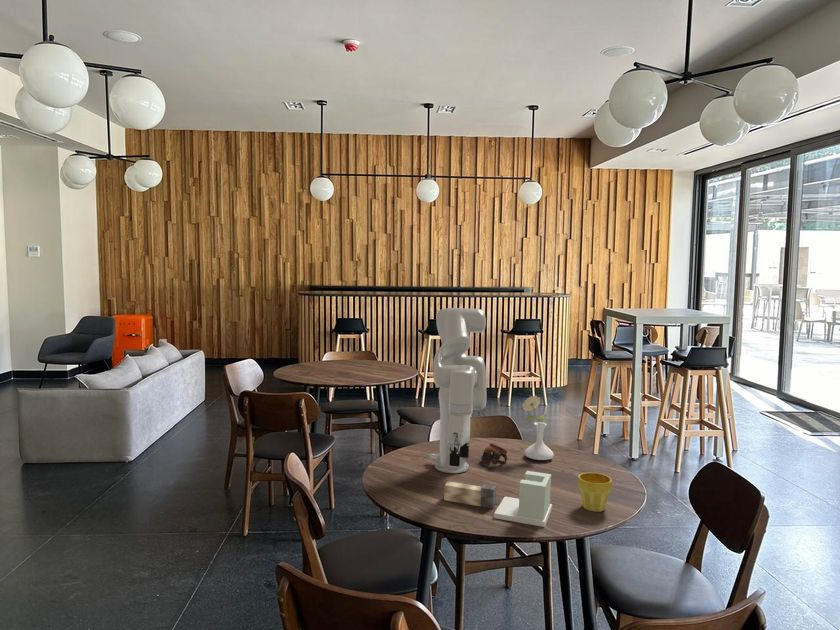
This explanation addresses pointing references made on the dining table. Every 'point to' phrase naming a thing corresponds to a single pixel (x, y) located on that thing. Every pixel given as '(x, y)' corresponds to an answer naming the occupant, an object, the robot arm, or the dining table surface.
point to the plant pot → (594, 490)
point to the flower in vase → (538, 448)
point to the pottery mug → (495, 456)
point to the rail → (471, 494)
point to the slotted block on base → (528, 501)
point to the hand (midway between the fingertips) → (459, 461)
